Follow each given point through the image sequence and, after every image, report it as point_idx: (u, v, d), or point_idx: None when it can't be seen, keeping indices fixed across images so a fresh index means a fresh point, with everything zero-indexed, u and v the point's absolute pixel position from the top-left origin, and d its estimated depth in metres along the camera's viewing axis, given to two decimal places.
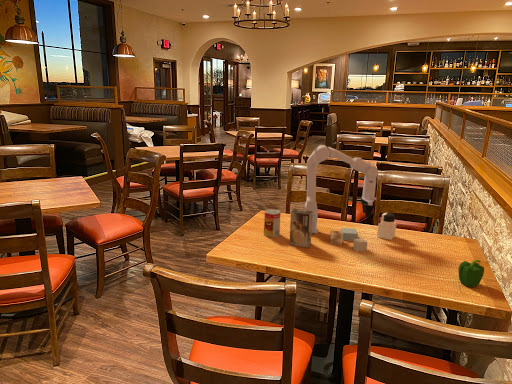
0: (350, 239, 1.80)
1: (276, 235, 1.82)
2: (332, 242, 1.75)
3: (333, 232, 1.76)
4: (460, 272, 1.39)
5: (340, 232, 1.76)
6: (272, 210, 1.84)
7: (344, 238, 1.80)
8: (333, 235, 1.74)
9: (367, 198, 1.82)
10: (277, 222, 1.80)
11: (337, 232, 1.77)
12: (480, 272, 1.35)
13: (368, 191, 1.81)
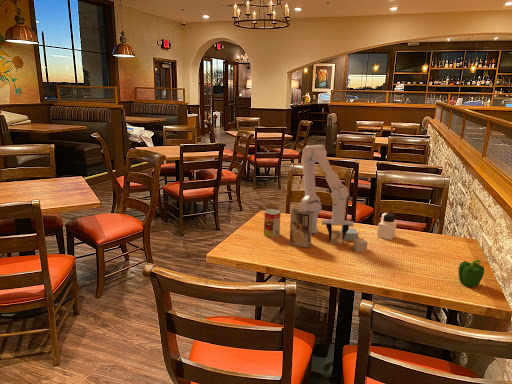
0: (350, 239, 1.80)
1: (276, 235, 1.82)
2: (332, 242, 1.75)
3: (333, 232, 1.76)
4: (460, 272, 1.39)
5: (340, 232, 1.76)
6: (272, 210, 1.84)
7: (344, 238, 1.80)
8: (333, 235, 1.74)
9: (331, 219, 1.76)
10: (277, 222, 1.80)
11: (337, 231, 1.77)
12: (480, 272, 1.35)
13: None
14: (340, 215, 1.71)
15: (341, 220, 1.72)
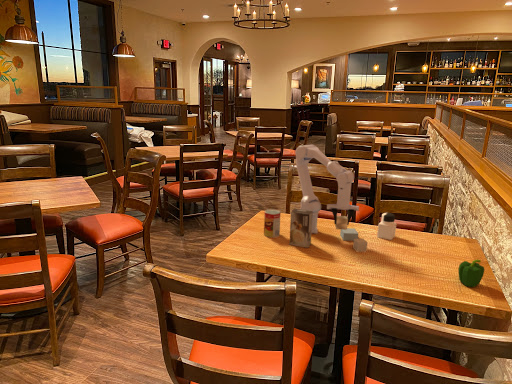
0: (351, 239, 1.80)
1: (276, 235, 1.82)
2: (337, 227, 1.75)
3: (338, 217, 1.76)
4: (460, 272, 1.39)
5: (345, 217, 1.76)
6: (272, 210, 1.84)
7: (345, 238, 1.80)
8: (338, 220, 1.74)
9: (336, 204, 1.76)
10: (277, 222, 1.80)
11: (342, 217, 1.77)
12: (480, 272, 1.35)
13: None
14: (345, 199, 1.71)
15: (346, 204, 1.72)
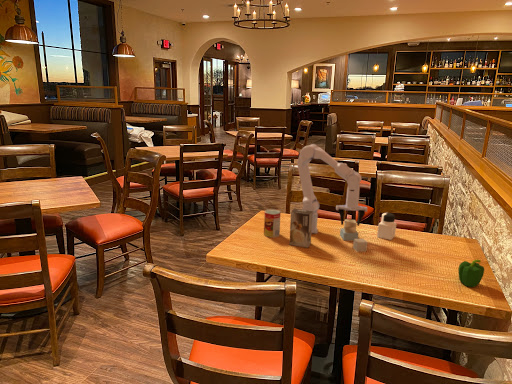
0: (351, 239, 1.80)
1: (276, 235, 1.82)
2: (346, 230, 1.80)
3: (347, 221, 1.81)
4: (460, 272, 1.39)
5: (354, 221, 1.82)
6: (272, 210, 1.84)
7: (345, 238, 1.80)
8: (347, 223, 1.79)
9: (345, 205, 1.80)
10: (277, 222, 1.80)
11: (351, 220, 1.82)
12: (480, 272, 1.35)
13: None
14: (354, 200, 1.76)
15: (355, 205, 1.77)
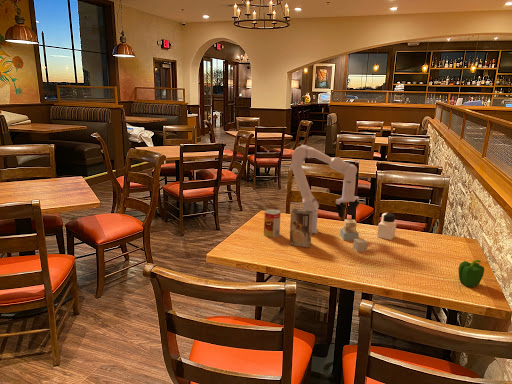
0: (351, 239, 1.80)
1: (276, 235, 1.82)
2: (346, 230, 1.80)
3: (347, 220, 1.81)
4: (460, 272, 1.39)
5: (354, 220, 1.82)
6: (272, 210, 1.84)
7: (345, 238, 1.80)
8: (347, 223, 1.79)
9: (342, 198, 1.80)
10: (277, 222, 1.80)
11: (350, 220, 1.82)
12: (480, 272, 1.35)
13: (343, 191, 1.79)
14: (353, 191, 1.78)
15: (353, 196, 1.80)
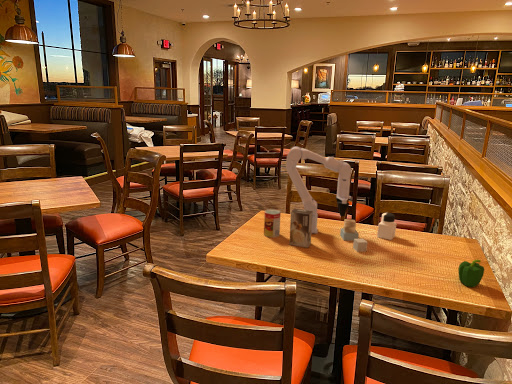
0: (351, 239, 1.80)
1: (276, 235, 1.82)
2: (346, 230, 1.80)
3: (346, 221, 1.82)
4: (460, 272, 1.39)
5: (353, 221, 1.82)
6: (272, 210, 1.84)
7: (345, 238, 1.80)
8: (346, 223, 1.79)
9: (341, 196, 1.82)
10: (277, 222, 1.80)
11: (350, 220, 1.82)
12: (480, 272, 1.35)
13: (342, 189, 1.81)
14: None
15: None
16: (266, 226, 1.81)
